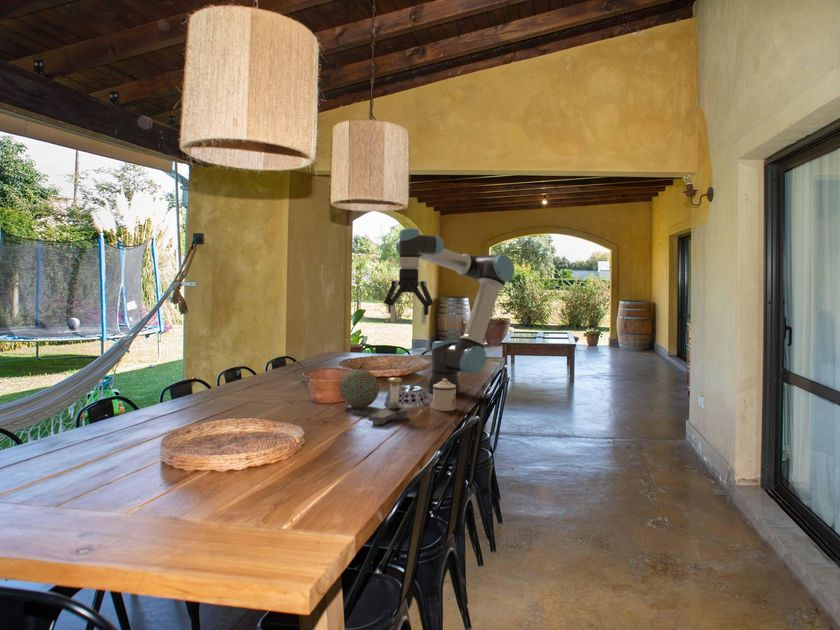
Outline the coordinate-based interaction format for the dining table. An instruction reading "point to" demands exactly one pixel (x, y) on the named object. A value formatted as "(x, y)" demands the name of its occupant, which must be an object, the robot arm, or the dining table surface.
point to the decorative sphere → (359, 388)
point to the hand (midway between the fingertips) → (408, 322)
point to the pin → (394, 392)
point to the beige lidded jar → (444, 396)
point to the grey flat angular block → (381, 414)
